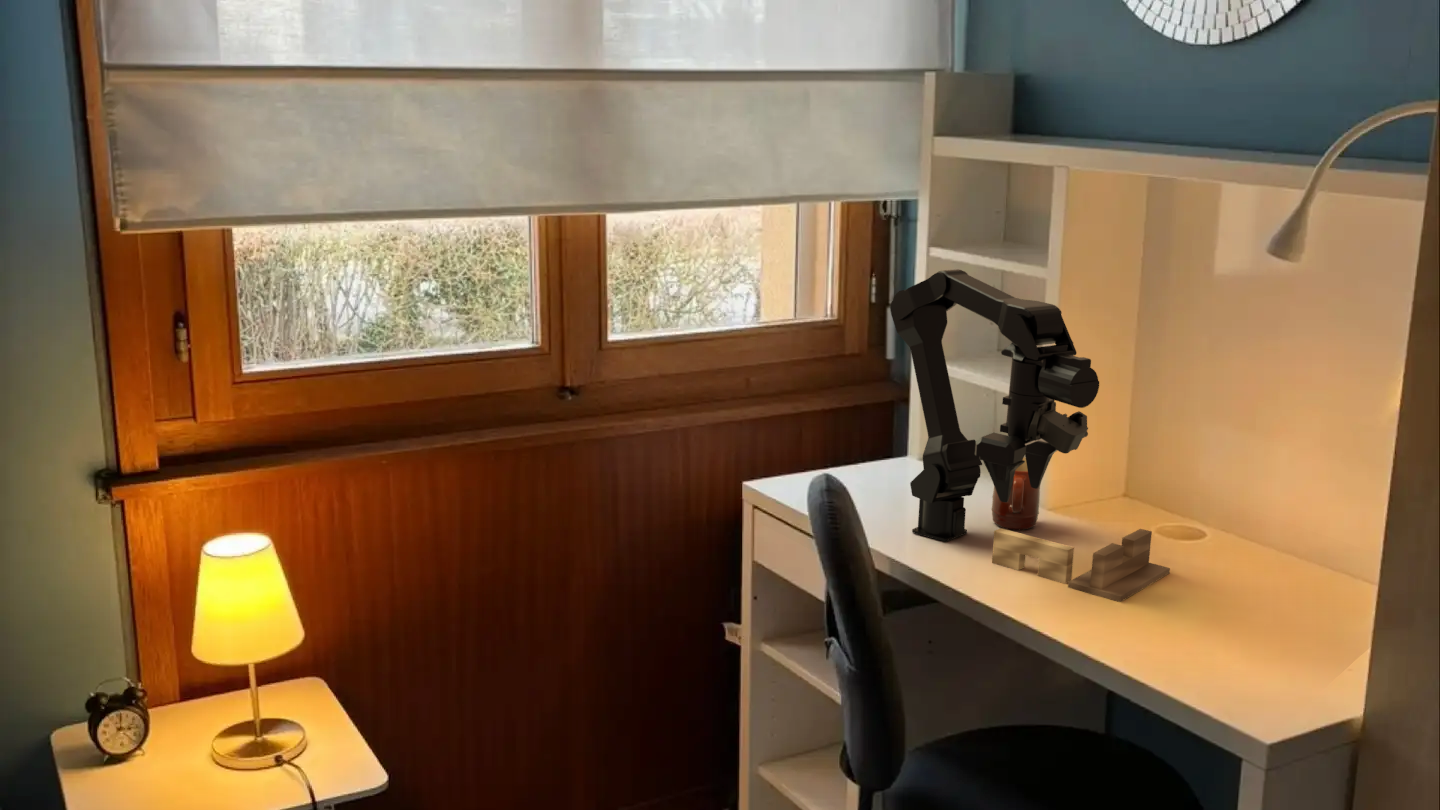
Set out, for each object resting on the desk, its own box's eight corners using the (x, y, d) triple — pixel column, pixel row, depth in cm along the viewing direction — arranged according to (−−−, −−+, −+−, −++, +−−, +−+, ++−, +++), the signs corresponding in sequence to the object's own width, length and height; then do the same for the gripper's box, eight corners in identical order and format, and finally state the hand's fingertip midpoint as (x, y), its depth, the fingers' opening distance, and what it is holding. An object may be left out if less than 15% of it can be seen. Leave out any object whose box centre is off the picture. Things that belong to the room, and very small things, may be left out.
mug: (987, 514, 229) (991, 454, 226) (1041, 518, 227) (1046, 458, 225) (985, 537, 217) (990, 474, 215) (1042, 542, 215) (1047, 479, 213)
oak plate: (992, 562, 206) (994, 530, 205) (998, 559, 207) (1000, 528, 206) (1065, 583, 198) (1068, 550, 197) (1071, 580, 199) (1074, 547, 198)
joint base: (1067, 587, 197) (1071, 548, 195) (1118, 559, 208) (1122, 523, 207) (1120, 601, 192) (1124, 562, 190) (1169, 573, 203) (1173, 535, 202)
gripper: (1049, 413, 187) (1038, 523, 191) (1110, 391, 200) (1099, 493, 204) (977, 398, 194) (968, 504, 198) (1040, 377, 207) (1031, 476, 211)
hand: (1019, 494), depth 203 cm, fingers open, 9 cm apart
